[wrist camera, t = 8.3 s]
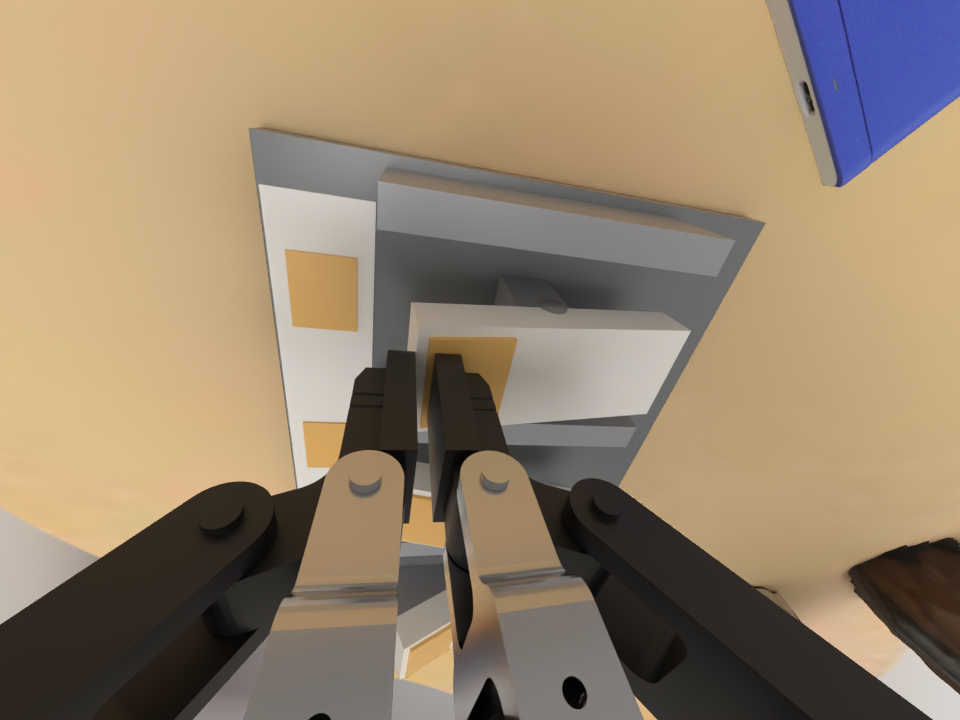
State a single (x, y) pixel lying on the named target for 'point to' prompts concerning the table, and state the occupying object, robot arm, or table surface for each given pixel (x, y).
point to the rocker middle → (426, 512)
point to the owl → (918, 601)
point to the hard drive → (867, 73)
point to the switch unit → (464, 288)
